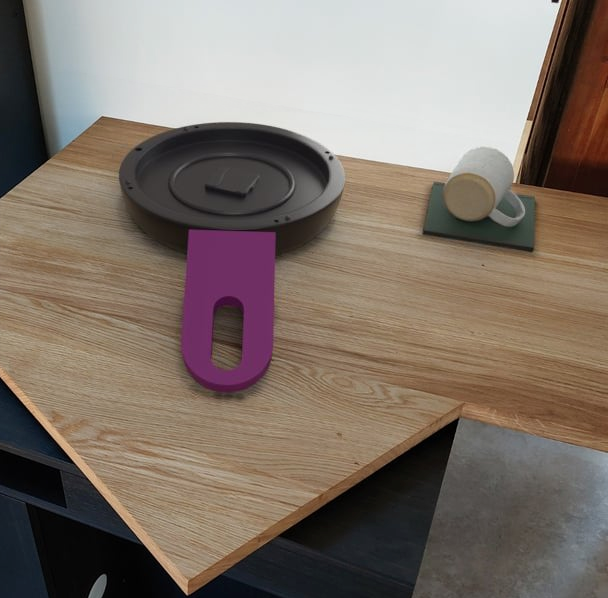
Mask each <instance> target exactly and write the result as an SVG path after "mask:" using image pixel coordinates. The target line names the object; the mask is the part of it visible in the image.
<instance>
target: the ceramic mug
mask: <svg viewBox="0 0 608 598" xmlns="http://www.w3.org/2000/svg"><path fill="white" fill-rule="evenodd" d="M514 178H515V172H514V167H513V165H512V162H511V160H510V159H509V158H508V156H506V154H504V153H503V152H502V151H500V150H499V149H497V148H493V147H491V146H479V147H478V146H477V147H475V148H472V149H470V150H469V151H467V152H466V153H464V154H463V156H462V157H461V158H460V160H459V161H458V163H457V164H456V166H455V168H454V169H453V171H452V172H451V174H450V175H449V177H448V178H447V180H446V182H445V183H446V184H445V187H444V190H443V201H444V204H445V206H446V209H447V210H448V211H449V213H451V214H452V215H453V216H454V217H456V218H458V219H460V220H463V221H469V222H473V221H478V220H481V219H483V218H485V217H487V216H489V217H490V218H491V219H492V220H493V221H495V222H497V223H499V224H500V225H503V226H507V227H511V226H515V225H516V224H517V223H518V222H519V221H520V220H521V219H522V218H523V217H524V215H525V208H524V205H523V203H522V202H521V200H520V199H519V198H518V196H517V195H516V194H517V193H516V194H515V192H514V191H513V190H512V189H511V188H512V186H513V183H514ZM502 199H504V200H506V201H507V202H508V203H509V204H510V206H511V207H512V208H513V209H514V211H515V213H516V217H515V218H510V217H508V216H506V215H504V214H502V213H501V212H500V211H498V210H497V209H496V207H497V206H498V204H499V203H500V201H501V200H502Z"/></svg>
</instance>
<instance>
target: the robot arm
mask: <svg viewBox="0 0 608 598" xmlns="http://www.w3.org/2000/svg"><path fill="white" fill-rule="evenodd" d="M559 1H560V0H551V1H550V2H551V3H552V4H559Z"/></svg>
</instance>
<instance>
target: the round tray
mask: <svg viewBox="0 0 608 598" xmlns="http://www.w3.org/2000/svg"><path fill="white" fill-rule="evenodd" d="M118 181H119V187H120V191H121V194H122V197H123V202H124V204H125V206H126V208H127V211H128V213H129V214H130V216H131V217H132V219H133V221H134V223H136V225H137V226H138V227H139V228H140V229H141V230H142V231H143V232H144V233H145V234H147V236H149V237H150V238H152V240H154V241H156V242H158V243H159V244H161V245H163V246H165V247H168V248H170V249H172V250H175V251H177V252H180V253H184V254H187V251H188V236H189V230H218V231H249V232H276V236H275V256H276V255H280V254H284V253H287V252H290V251H292V250H294V249H298V248H299V247H301V246H303V245H305V244H306V243H308V242H310V241H311V240H313V239H314V238H315V237H316V236H318V235H319V234H320V233H322V231H324V229H325V228H326V227H327V226H328V225H329V223H330V222H331V220H332V219H333V217H334V216H335V214H336V212H337V209H338V207H339V205H340V203H341V199H342V196H343V193H344V190H345V185H346V173H345V169H344V167H343V164H342V163H341V161H340V159H339V158H338V157H337V155H335V154H334V153H333V152H332V151H331V150H330V149H329V148H328V147H326V146H325V145H323V144H322V143H320V142H319V141H317V140H315V139H313V138H311V137H309V136H306V135H304V134H301V133H299V132H296V131H293V130H290V129H286V128H283V127H277V126H273V125H268V124H261V123H252V122H240V121H239V122H238V121H217V122H204V123H196V124H190V125H185V126H180V127H177V128H173V129H169V130H166V131H163V132H161V133H157V134H155V135H152V136H150V137H149V138H147V139H145V140H143V141H142V142H140V143H139V144H137V145H136V146H134V147H133V148H132V149H131V150H130V151H129V152H128V153H127V154H126V155H125V156H124V157H123V160H122V162H121V164H120V166H119V170H118Z"/></svg>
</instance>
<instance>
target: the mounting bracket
mask: <svg viewBox="0 0 608 598" xmlns="http://www.w3.org/2000/svg"><path fill="white" fill-rule="evenodd" d="M275 236H276V232H249V231H218V230H189V236H188V251H187V253H186V267H185V278H184V279H185V281H184V294H183V295H184V296H183V307H182V308H183V310H182V321H181V322H182V324H181V335H180V336H181V337H180V348H181V355H182V361H183V364H184V367H185V369H186V370H187V372H188V374H189V375H190V377H191V378H192V379H193V380H194V381H195V382H197V383H198V384H199V385H200V386H202V387H204V388H206V389H208V390H210V391H213V392H217V393H226V394H227V393H236V392H241V391H243V390H246V389H248V388H250V387H252V386H254V385H255V384H257V383H258V382H259V381H260V380H261V379H262V378H263V377H264V376H265V374H266V373H267V371H268V370H269V367H270V366H271V362H272V357H273V350H274V325H275V321H274V320H275V283H276V281H275V278H276V277H275V274H276V255H275ZM225 306H226V307H227V306H233V307H235V308H237V309H238V310H240V312H241V313H242V317H243V324H242V350H241V351H242V353H241V360H240V362H239V364H238V365H237V366H236V367H233V368H232V369H221V368H219V367H217V365H215V364H214V363H213V360H212V359H213V357H212V355H213V342H214V341H213V340H214V339H213V338H214V323H215V321H214V320H215V314H216V312H217V311H218V310H219V309H220V308H223V307H225Z"/></svg>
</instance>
